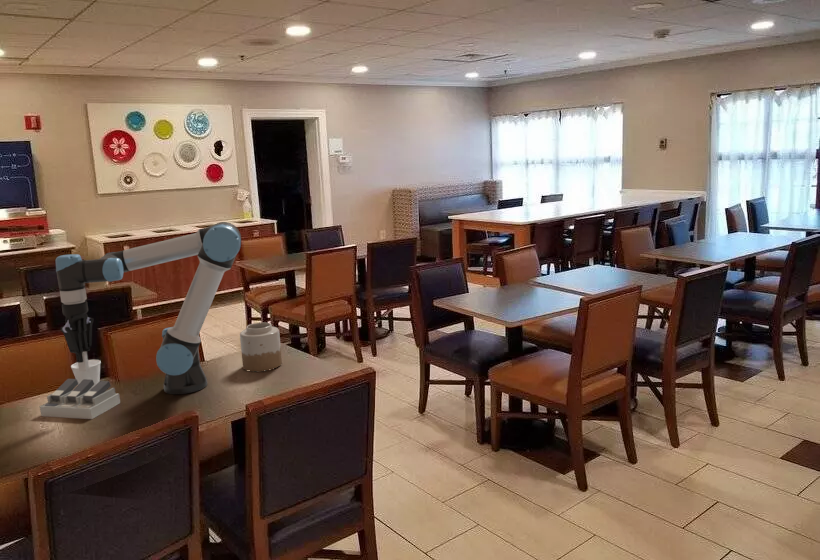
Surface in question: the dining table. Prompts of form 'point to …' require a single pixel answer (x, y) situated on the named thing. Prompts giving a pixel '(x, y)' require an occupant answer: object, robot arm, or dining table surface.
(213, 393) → the dining table surface
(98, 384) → the rocker
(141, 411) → the dining table surface
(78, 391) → the rocker
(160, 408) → the dining table surface
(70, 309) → the robot arm
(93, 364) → the cup
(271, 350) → the vase
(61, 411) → the switch unit
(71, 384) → the rocker
